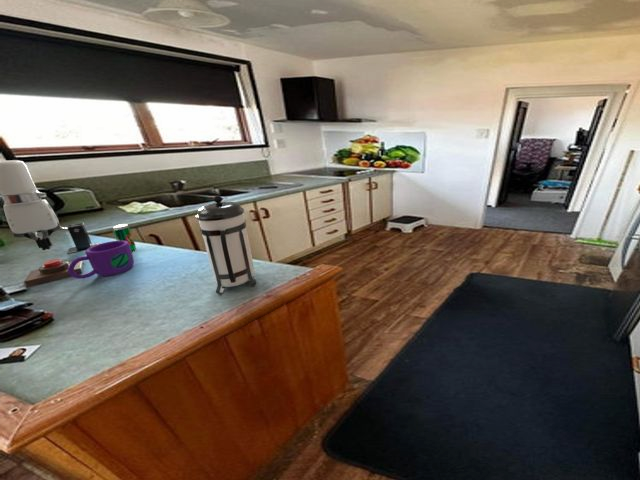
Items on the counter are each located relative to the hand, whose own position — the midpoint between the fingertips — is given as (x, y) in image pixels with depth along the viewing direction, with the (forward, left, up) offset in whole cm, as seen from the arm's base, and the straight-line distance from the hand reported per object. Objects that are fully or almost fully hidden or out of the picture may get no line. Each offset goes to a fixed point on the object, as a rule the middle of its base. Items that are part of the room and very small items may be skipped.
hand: (47, 248), depth 96 cm
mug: (+13, -13, -11) cm, 21 cm away
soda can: (+20, +8, -11) cm, 24 cm away
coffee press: (+45, -56, -11) cm, 72 cm away
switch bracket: (+6, +26, -10) cm, 29 cm away
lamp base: (0, 0, -10) cm, 10 cm away
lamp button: (0, 0, -7) cm, 7 cm away
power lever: (+1, +26, -1) cm, 26 cm away
